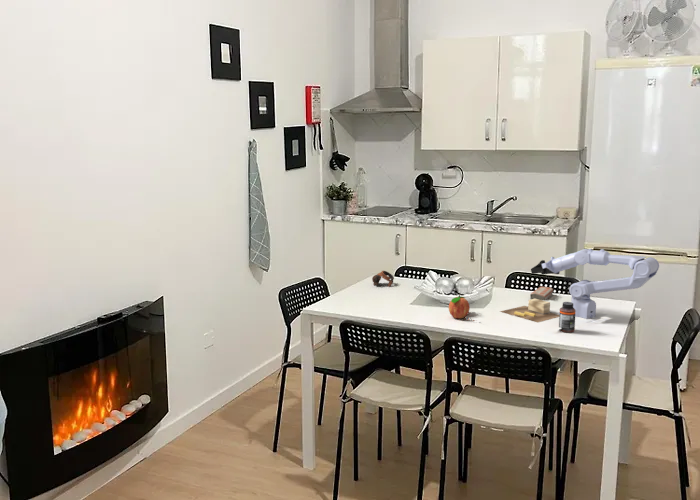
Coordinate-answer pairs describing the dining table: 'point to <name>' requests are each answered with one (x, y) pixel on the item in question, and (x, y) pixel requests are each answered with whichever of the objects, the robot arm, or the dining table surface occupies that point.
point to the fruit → (459, 307)
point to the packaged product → (543, 294)
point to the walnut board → (532, 318)
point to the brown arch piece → (384, 275)
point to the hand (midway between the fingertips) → (536, 271)
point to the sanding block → (539, 306)
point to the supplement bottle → (567, 318)
